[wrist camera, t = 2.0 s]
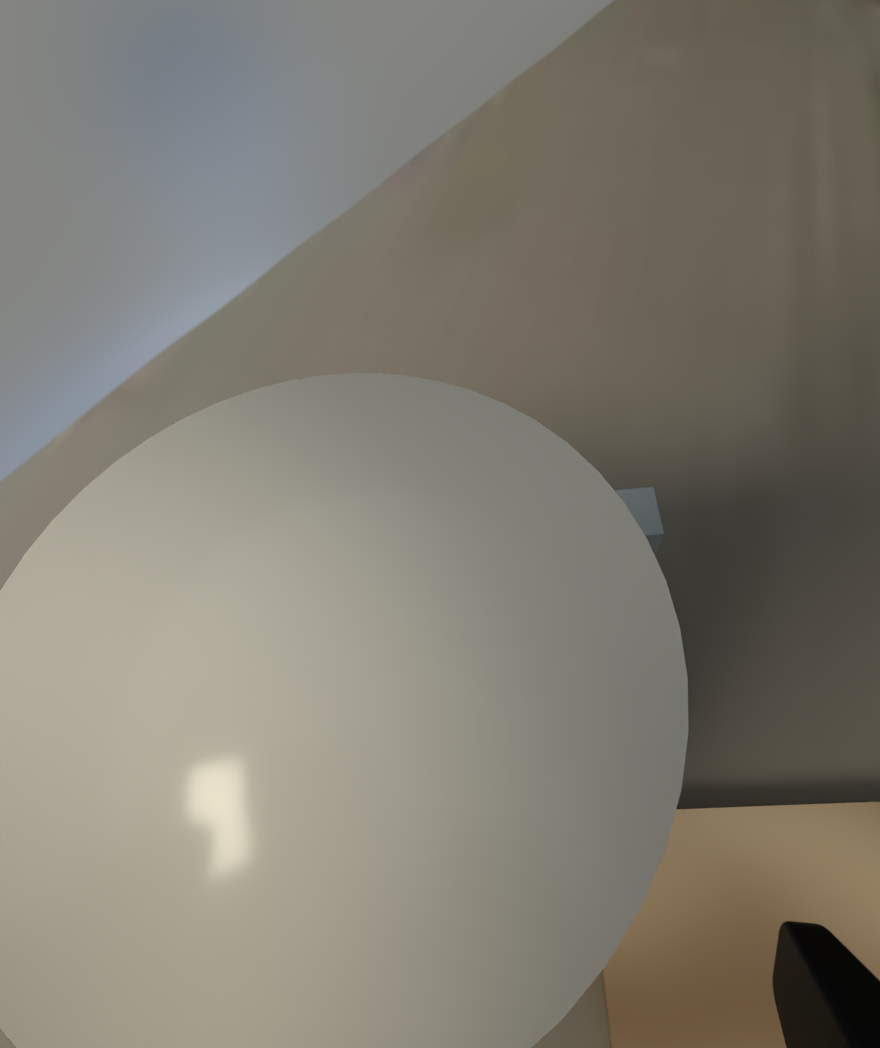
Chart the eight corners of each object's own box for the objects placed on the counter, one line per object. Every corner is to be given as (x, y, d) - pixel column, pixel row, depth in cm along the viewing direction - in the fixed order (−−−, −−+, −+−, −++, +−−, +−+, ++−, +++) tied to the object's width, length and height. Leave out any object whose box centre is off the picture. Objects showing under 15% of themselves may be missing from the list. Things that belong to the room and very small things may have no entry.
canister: (587, 941, 15) (799, 1166, 3) (362, 946, 16) (-212, 1150, 4) (559, 701, 18) (612, 326, 6) (369, 712, 18) (62, 388, 6)
